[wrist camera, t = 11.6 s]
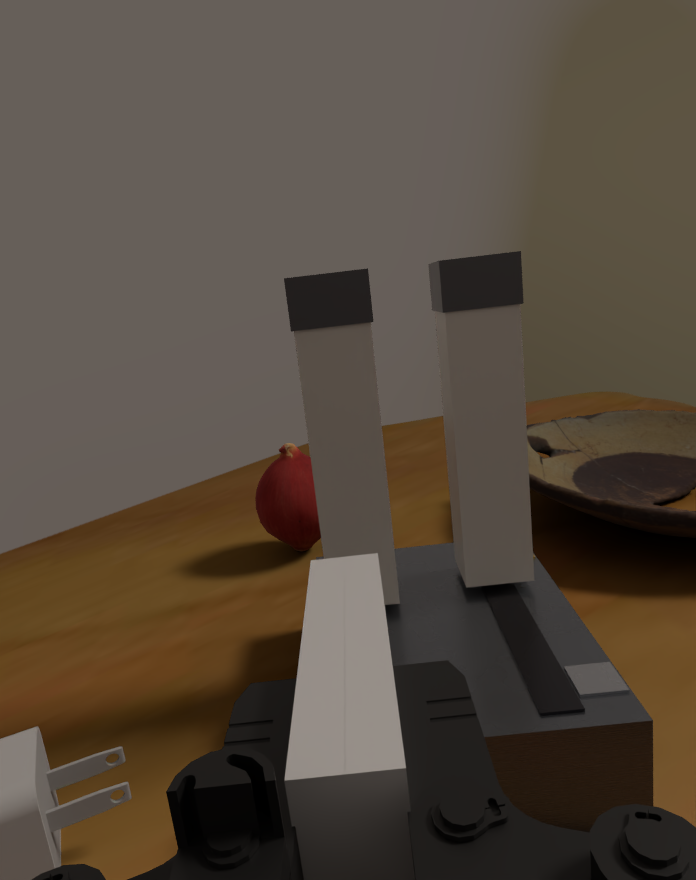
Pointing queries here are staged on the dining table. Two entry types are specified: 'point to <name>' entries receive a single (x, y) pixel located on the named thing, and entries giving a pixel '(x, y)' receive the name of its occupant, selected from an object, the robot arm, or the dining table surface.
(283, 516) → the onion
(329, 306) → the grey square post
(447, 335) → the white capped post
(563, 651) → the console
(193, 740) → the dining table surface
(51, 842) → the usb wall charger
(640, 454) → the broken bowl
